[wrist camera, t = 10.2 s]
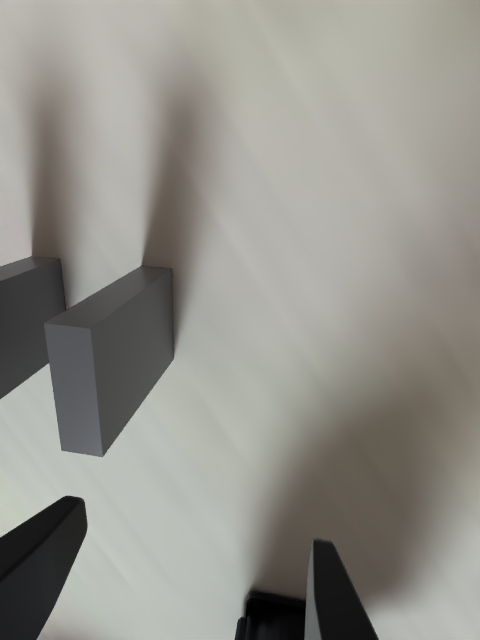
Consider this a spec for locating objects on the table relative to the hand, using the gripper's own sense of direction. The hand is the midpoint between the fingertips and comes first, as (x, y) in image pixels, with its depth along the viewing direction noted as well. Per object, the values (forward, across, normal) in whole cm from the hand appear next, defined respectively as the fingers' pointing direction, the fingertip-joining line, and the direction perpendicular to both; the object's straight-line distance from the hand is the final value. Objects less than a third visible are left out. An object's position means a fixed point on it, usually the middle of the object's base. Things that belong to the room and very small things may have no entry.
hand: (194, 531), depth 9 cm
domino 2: (+12, +6, 0) cm, 14 cm away
